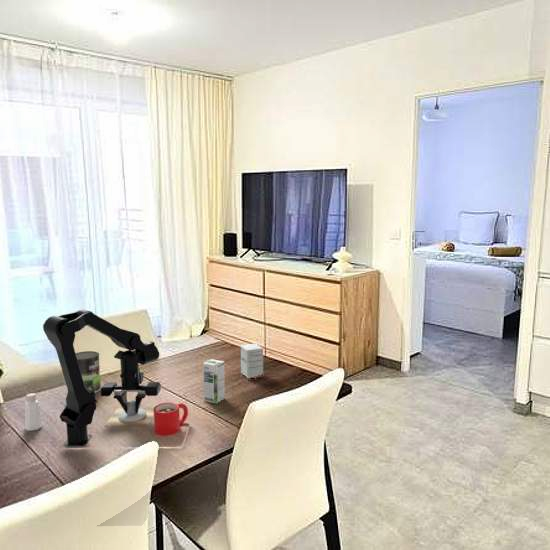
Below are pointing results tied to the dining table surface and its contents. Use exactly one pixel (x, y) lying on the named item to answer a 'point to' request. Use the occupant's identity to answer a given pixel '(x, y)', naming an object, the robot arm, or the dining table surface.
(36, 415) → the pepper shaker
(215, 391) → the syrup box
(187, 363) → the dining table surface
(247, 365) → the supplement box
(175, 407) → the mug
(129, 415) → the lid
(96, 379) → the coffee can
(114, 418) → the mat
